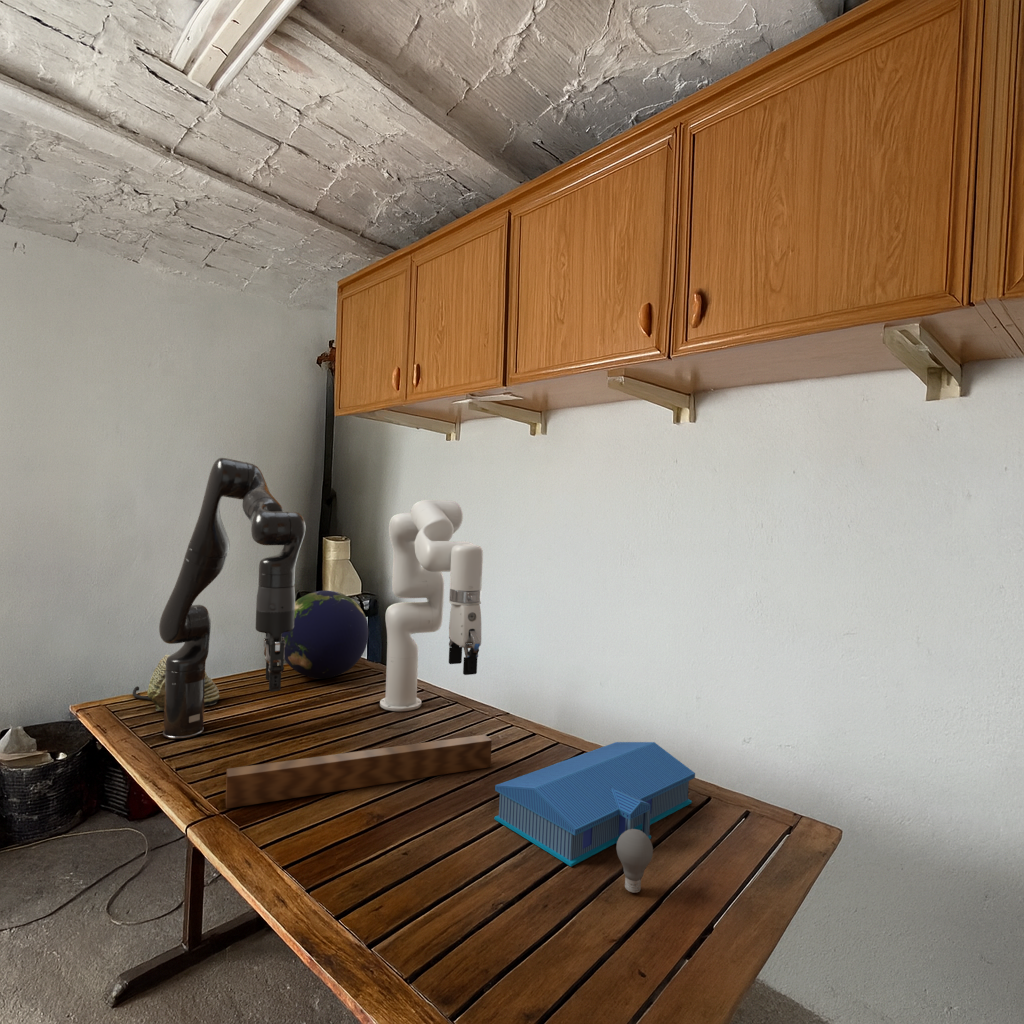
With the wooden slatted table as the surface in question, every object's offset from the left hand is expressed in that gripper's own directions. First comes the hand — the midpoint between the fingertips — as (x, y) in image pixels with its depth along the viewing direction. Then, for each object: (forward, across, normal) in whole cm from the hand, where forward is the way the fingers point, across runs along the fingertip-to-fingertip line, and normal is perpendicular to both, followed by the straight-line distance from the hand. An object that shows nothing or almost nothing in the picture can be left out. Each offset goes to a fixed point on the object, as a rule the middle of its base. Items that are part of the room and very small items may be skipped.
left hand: (272, 684), depth 132 cm
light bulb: (+24, -55, -53) cm, 80 cm away
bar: (+24, 0, -21) cm, 32 cm away
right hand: (0, 0, -42) cm, 42 cm away
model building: (+24, -30, -63) cm, 74 cm away
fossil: (+24, +67, +18) cm, 73 cm away
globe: (+24, +85, -24) cm, 92 cm away
